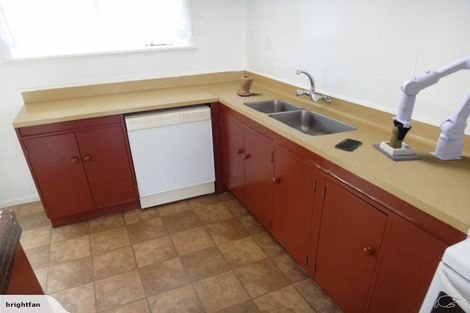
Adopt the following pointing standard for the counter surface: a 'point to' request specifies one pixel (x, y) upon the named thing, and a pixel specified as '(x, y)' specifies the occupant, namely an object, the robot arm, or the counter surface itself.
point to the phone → (348, 144)
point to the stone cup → (245, 85)
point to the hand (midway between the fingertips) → (398, 138)
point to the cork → (395, 139)
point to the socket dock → (397, 151)
